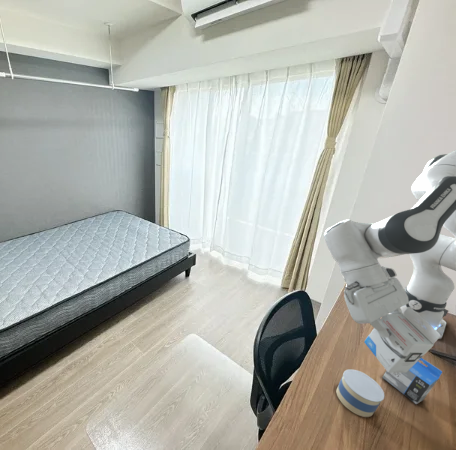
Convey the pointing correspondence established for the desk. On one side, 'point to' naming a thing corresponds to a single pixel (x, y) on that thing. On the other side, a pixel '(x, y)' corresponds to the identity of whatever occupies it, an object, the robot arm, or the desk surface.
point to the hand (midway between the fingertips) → (394, 332)
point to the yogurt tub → (359, 393)
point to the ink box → (402, 341)
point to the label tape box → (415, 380)
